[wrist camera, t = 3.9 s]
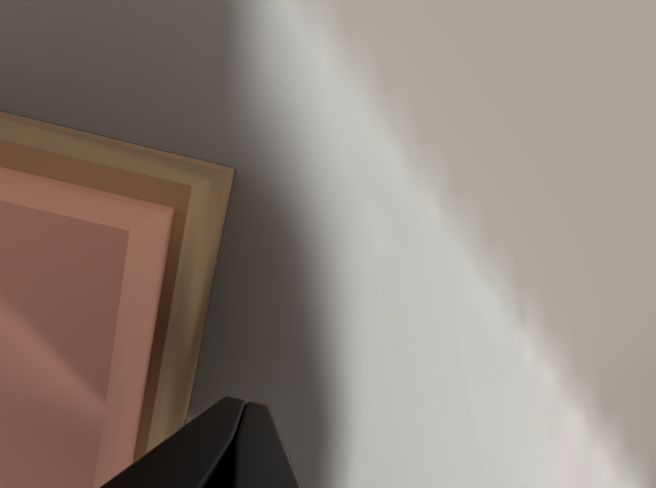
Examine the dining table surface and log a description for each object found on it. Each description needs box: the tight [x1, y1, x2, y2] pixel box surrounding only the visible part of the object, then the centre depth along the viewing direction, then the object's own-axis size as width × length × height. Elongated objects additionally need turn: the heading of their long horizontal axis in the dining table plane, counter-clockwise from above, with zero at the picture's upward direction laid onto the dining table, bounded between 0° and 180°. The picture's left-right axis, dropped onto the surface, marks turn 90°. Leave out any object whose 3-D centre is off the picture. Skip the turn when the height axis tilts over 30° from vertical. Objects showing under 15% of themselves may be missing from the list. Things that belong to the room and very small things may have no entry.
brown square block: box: [0, 111, 235, 463], centre depth 11 cm, size 8×8×4 cm
